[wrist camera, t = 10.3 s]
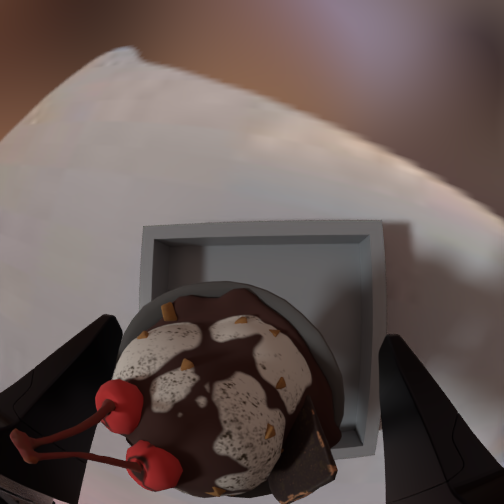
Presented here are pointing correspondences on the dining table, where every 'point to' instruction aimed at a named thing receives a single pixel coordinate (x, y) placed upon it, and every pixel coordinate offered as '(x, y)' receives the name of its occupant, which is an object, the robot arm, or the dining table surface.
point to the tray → (294, 291)
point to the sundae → (219, 397)
